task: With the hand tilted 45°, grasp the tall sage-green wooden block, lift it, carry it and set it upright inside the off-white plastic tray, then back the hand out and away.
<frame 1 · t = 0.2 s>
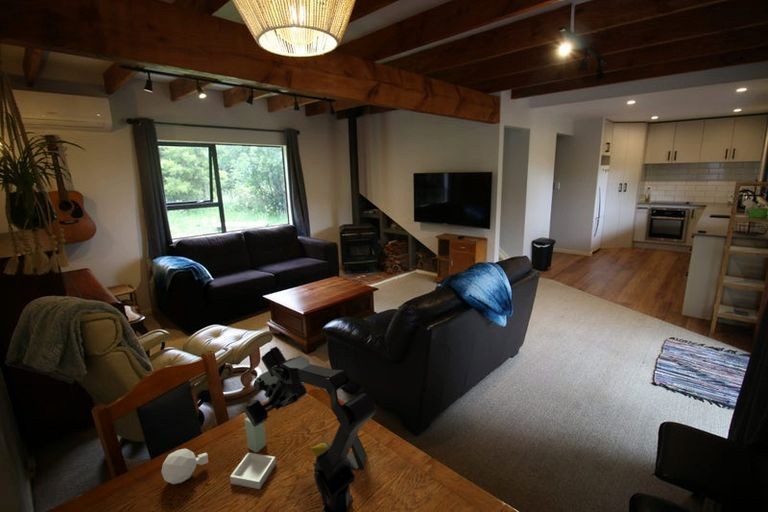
hand: (269, 413, 114), 14 cm above the table, fingers open, 9 cm apart
phone stand: (350, 462, 113), on the table
tray: (254, 473, 109), on the table
block: (257, 446, 120), on the table
perfume bottle: (187, 477, 109), on the table
drill bit: (322, 460, 114), on the table
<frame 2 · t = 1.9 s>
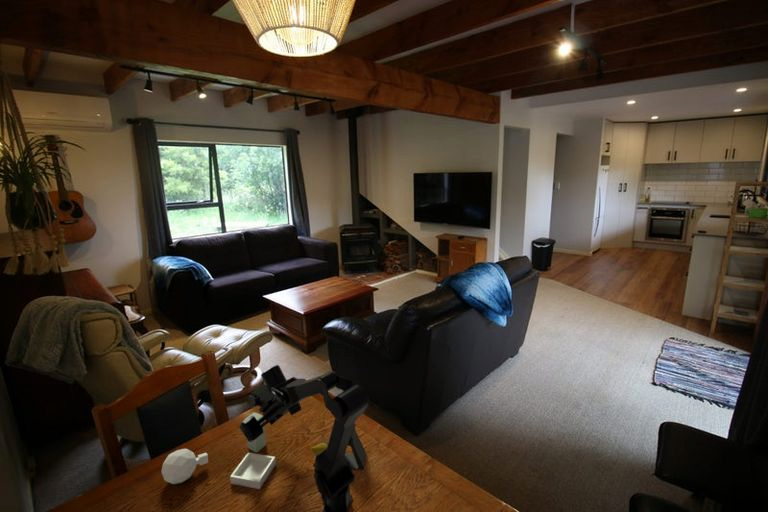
hand: (258, 423, 117), 9 cm above the table, fingers open, 9 cm apart
nothing on the table moved.
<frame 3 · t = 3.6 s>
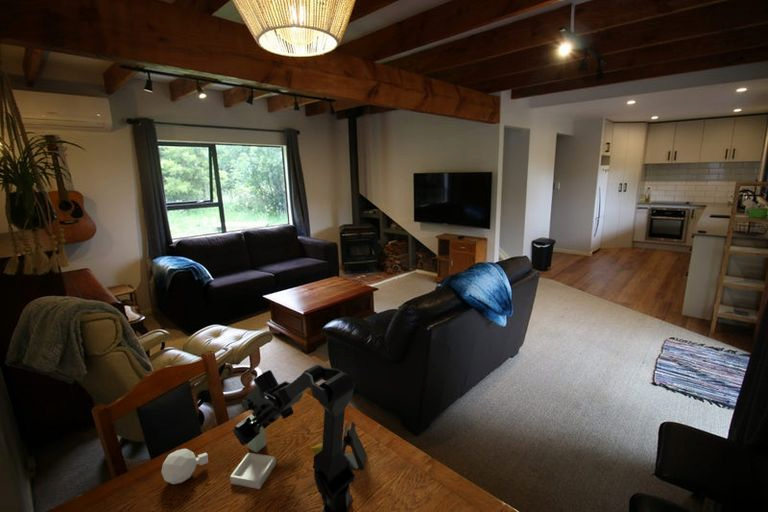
hand: (252, 427, 119), 7 cm above the table, fingers closed on block, 4 cm apart
block: (257, 446, 120), on the table, touching gripper
everything else where it was.
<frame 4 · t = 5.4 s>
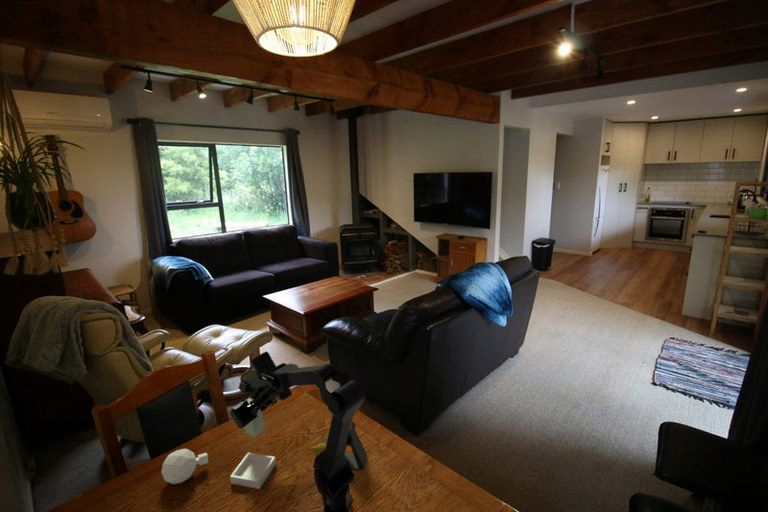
hand: (249, 412, 116), 13 cm above the table, fingers closed on block, 4 cm apart
block: (255, 431, 117), point 7 cm above the table, touching gripper
everything else where it was.
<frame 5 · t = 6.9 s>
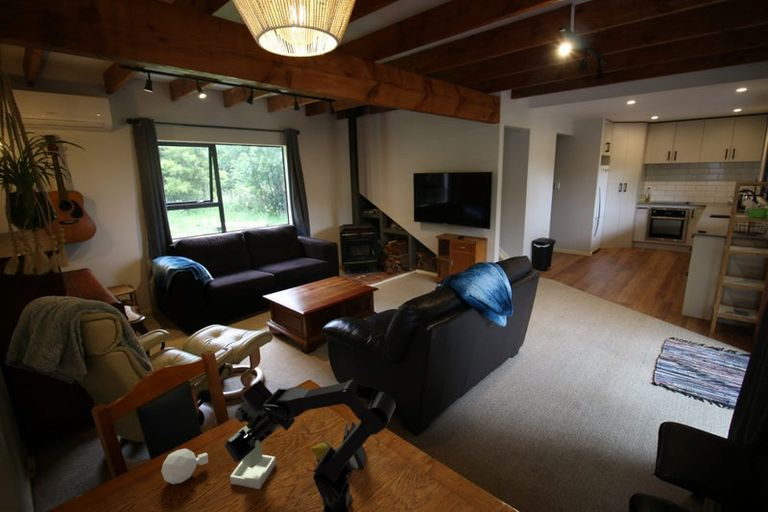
hand: (247, 440, 107), 11 cm above the table, fingers closed on block, 4 cm apart
block: (252, 461, 108), point 5 cm above the table, touching gripper
everything else where it was.
when the fingers open (9 cm above the table, at t = 7.7 s): block drops 1 cm, resting on tray.
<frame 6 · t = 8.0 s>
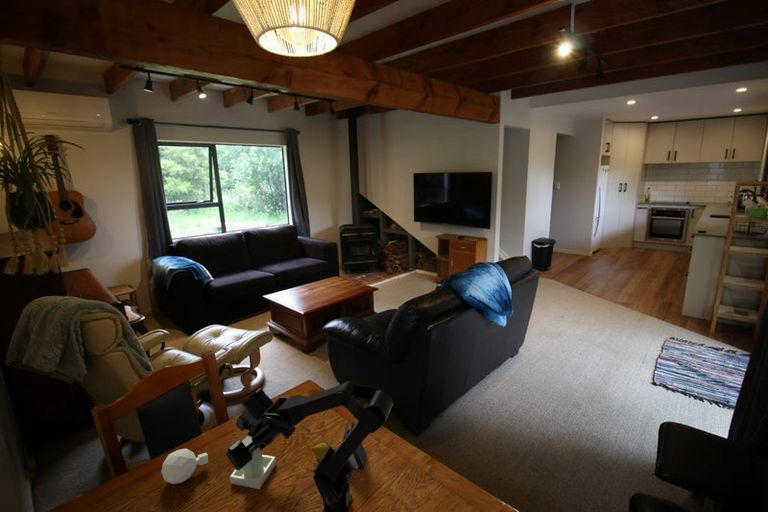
hand: (247, 447, 108), 9 cm above the table, fingers open, 7 cm apart
block: (253, 472, 109), point 1 cm above the table, touching tray
everything else where it was.
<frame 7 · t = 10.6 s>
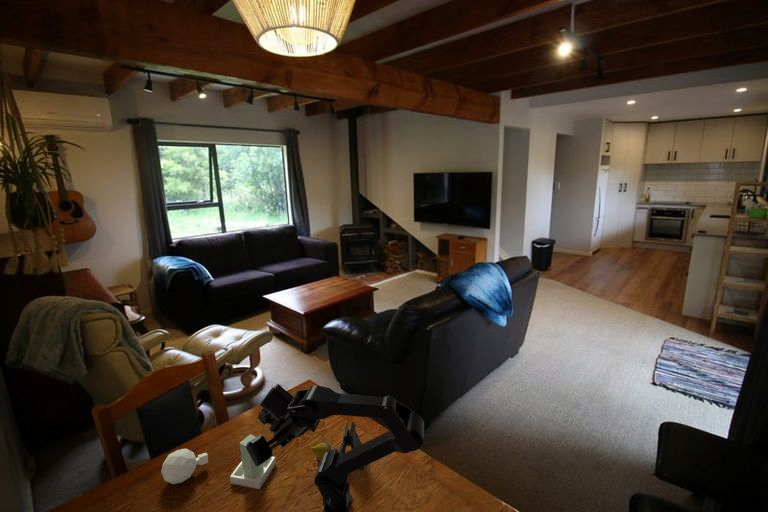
hand: (269, 446, 103), 13 cm above the table, fingers open, 9 cm apart
nothing on the table moved.
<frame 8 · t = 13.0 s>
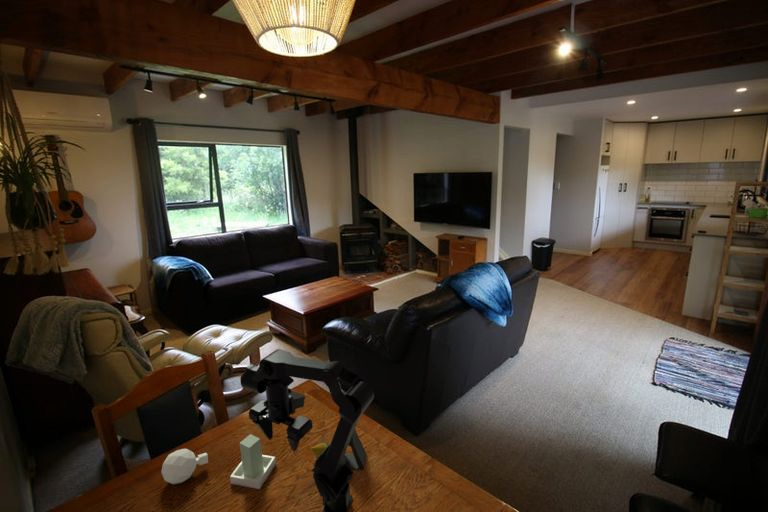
hand: (282, 444, 103), 13 cm above the table, fingers open, 9 cm apart
nothing on the table moved.
at the end: block 0.0 cm off-centre on the tray, point 0.6 cm above the tray's base; block tilted 0°; the gripper is holding nothing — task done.
